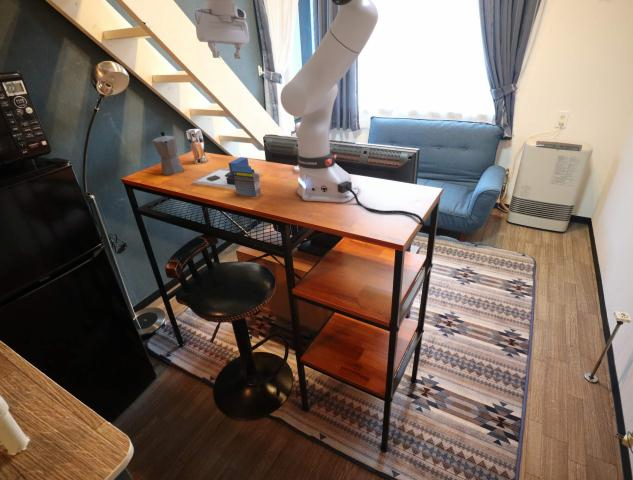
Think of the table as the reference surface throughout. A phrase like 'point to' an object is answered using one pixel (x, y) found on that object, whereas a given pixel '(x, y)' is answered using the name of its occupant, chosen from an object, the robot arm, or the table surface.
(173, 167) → the coffeepot
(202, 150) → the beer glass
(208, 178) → the scribble
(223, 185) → the whiteboard
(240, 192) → the tape cartridge
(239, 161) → the eraser
